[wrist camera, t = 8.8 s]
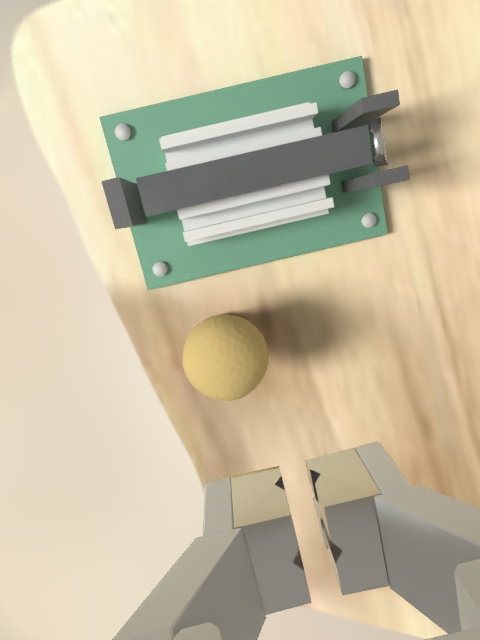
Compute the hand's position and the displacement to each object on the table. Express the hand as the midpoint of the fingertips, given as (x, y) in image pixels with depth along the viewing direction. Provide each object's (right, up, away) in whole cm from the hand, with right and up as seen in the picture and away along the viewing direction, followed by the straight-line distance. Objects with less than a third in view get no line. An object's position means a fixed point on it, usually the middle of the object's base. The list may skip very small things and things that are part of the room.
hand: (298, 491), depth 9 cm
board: (0, +15, +28) cm, 32 cm away
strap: (0, +14, +22) cm, 26 cm away
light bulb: (-3, +2, +32) cm, 32 cm away
